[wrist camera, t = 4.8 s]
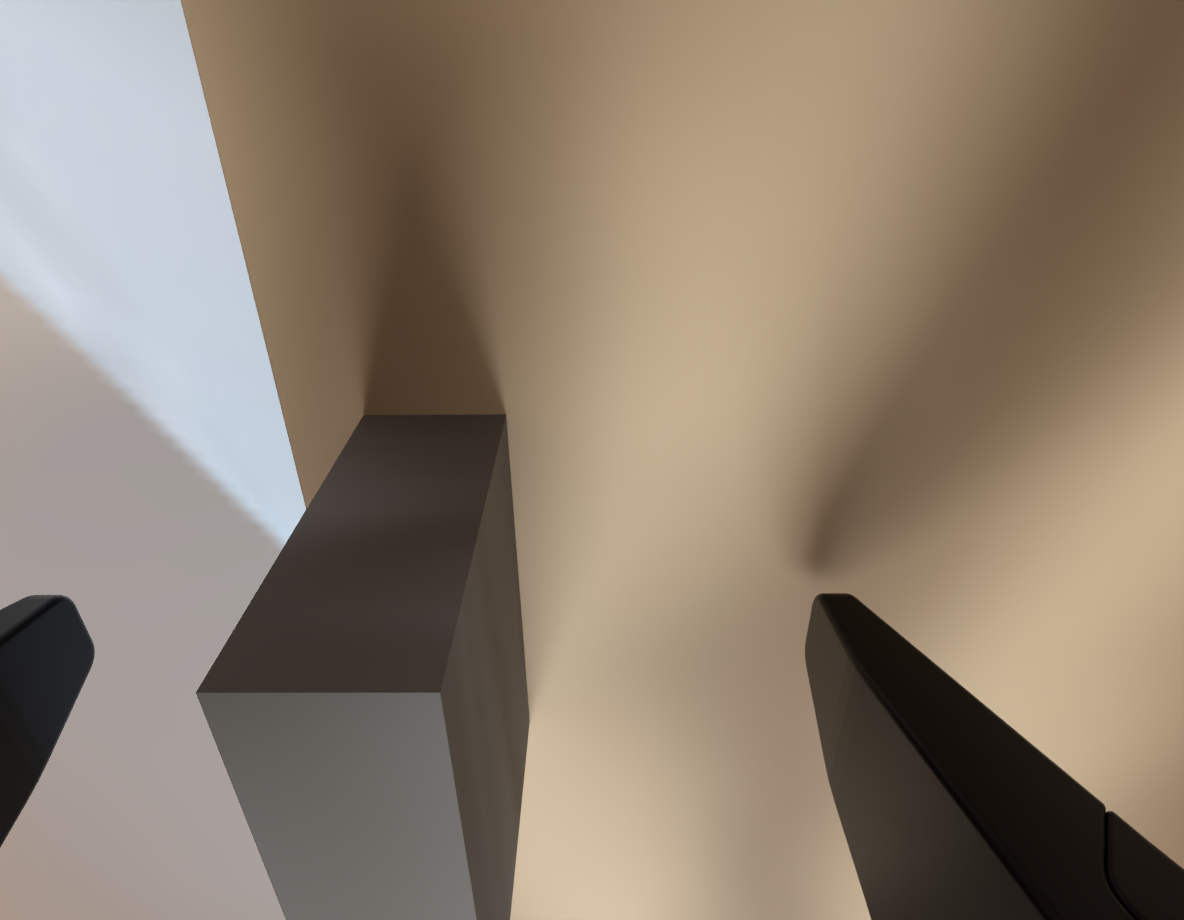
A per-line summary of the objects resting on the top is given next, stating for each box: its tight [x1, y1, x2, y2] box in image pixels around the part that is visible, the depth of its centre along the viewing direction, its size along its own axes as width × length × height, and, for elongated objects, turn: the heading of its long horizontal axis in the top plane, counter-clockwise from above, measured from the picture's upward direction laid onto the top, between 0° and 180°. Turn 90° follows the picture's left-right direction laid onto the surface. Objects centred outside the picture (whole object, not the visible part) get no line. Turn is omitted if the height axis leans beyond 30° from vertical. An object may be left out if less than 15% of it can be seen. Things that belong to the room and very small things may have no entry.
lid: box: [181, 0, 1184, 920], centre depth 8 cm, size 14×16×5 cm
